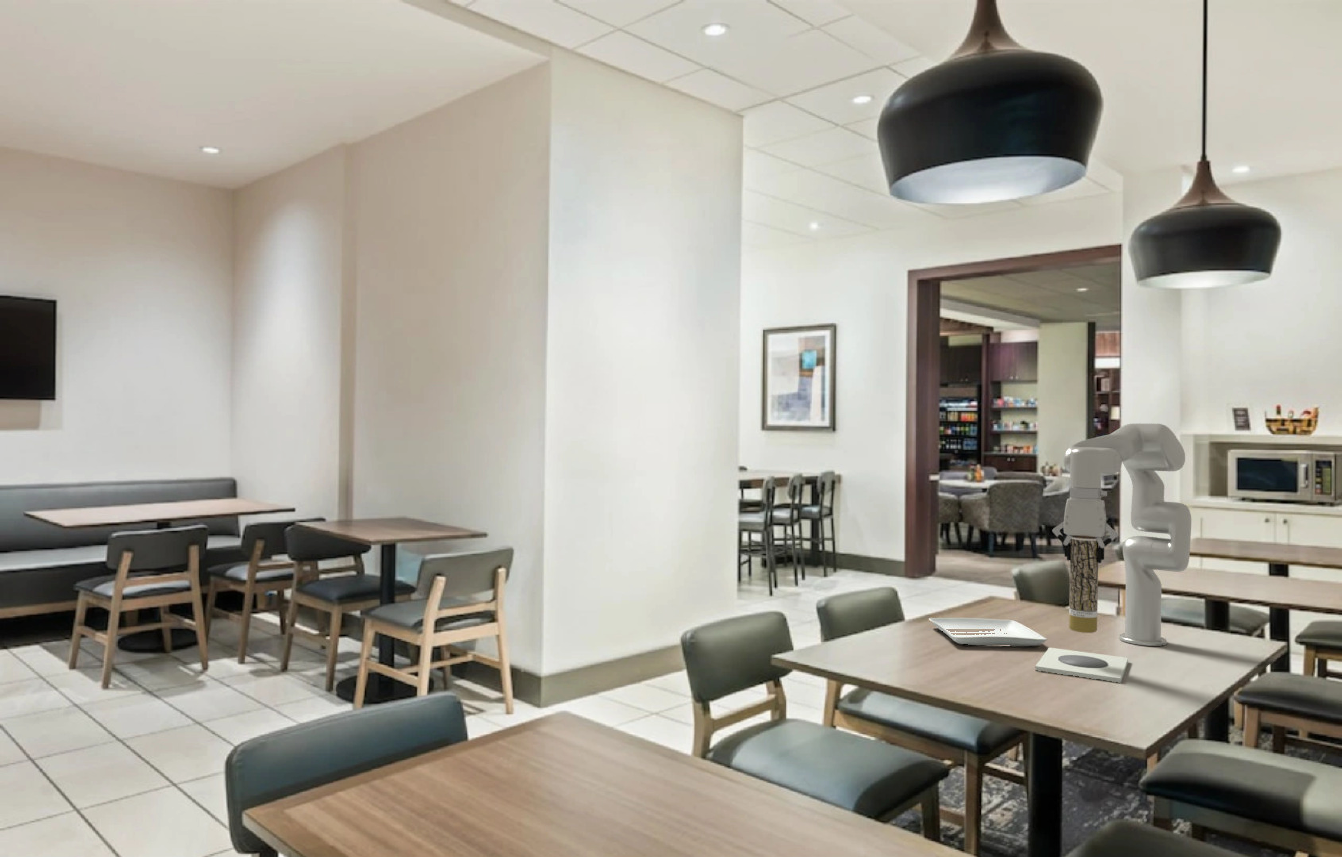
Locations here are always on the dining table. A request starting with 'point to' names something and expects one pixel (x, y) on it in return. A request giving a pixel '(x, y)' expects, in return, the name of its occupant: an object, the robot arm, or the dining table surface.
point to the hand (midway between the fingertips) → (1084, 560)
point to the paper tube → (1083, 584)
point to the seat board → (1083, 664)
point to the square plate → (1014, 630)
